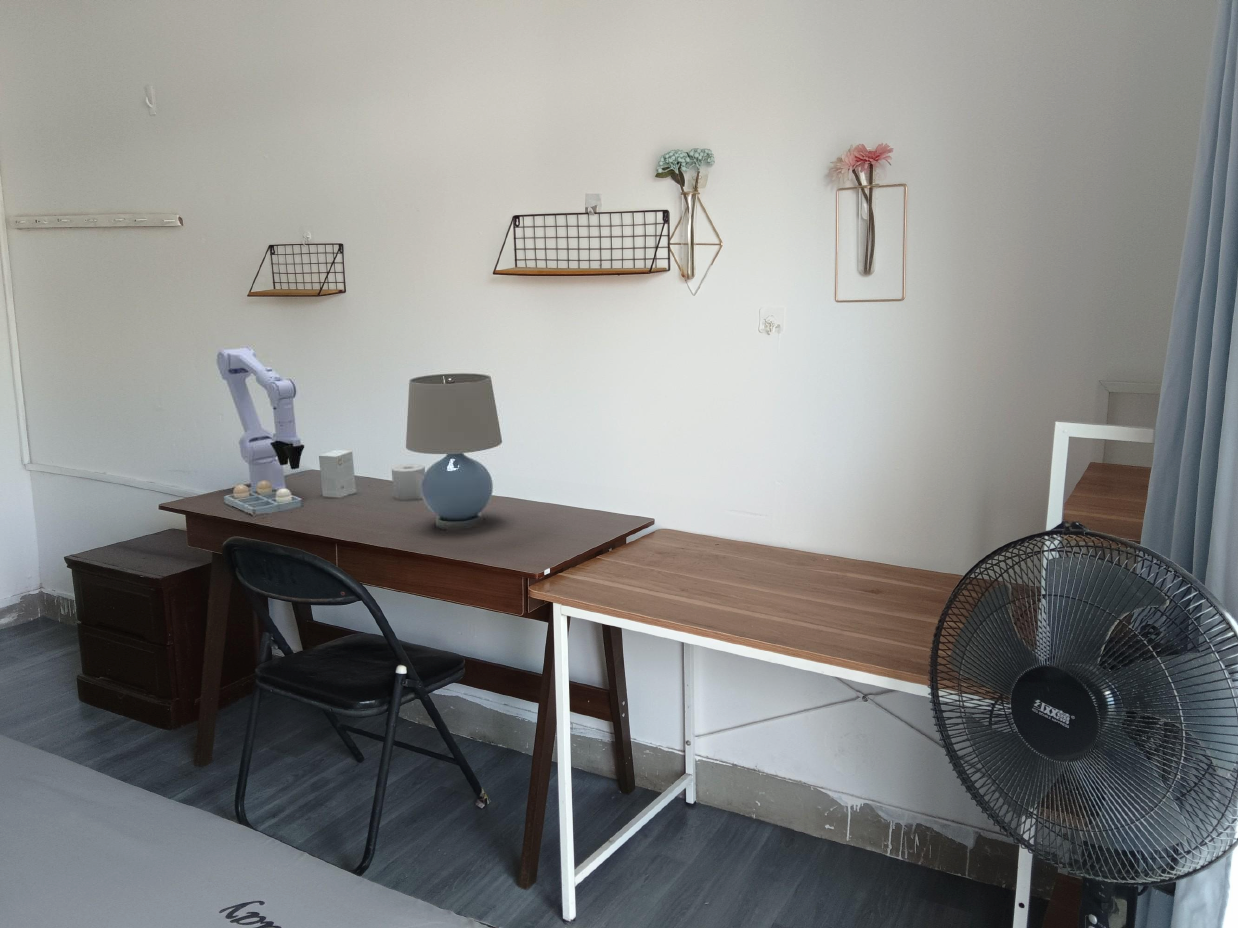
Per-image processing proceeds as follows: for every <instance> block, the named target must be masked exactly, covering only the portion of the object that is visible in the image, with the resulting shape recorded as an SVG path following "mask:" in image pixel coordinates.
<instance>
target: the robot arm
mask: <svg viewBox="0 0 1238 928" xmlns="http://www.w3.org/2000/svg"><path fill="white" fill-rule="evenodd" d="M216 365H217V369H218V370H219V374H220V376H221V378H222V379H223V380H224V381H226V383H227V387H228V389H229V392H230V395H231V398H232V400H233V403H234V406H235V409H236V411H237V414H238V417H239V420H240V423H241V426H242V428H243V431H244V434H243V435H242V436H241V437H240V438H239V440H238V443H239V448H240V449H239V450H240V451H239V452H240V455H241V458H242V459H243V461H244V462H245V463H247V464H248V472H249V481H250V487H248V489H249V491H253V490H257V484H258V483H259V482H260V481H263V480H266V481H268V482H270V483H271V485H272V487H274V488H276V489H278V490H279V489H281V488H287V486H286V481H285V474H284V473H285V472H284V466H285V465H286V466H287V465H288V464H289V467H290V470H296V469H299V468H300V463H301V459H302V458H301V457H302V453H303V451H304V449H305V444H302V443H301V438H299V437H298V434H297V426H296V420H295V419H296V418H295V408H294V407H295V406H294V399H295V397H296V396H297V387H296V384H295V382H294V381H293V379H291V378H283V377H282V376H280V375H279V374H278V373H277V371H275V370H273V368H272V367H271V366H269V367H268V366H267V367H265V366H264V365H263V364H262V363H261V362H260V361H259V360H258V359H257V355H256V352H255V350H253V349H252V347H249V346H246V347H241V348H230V349H219V350H218V352H217V355H216ZM251 375H253V376H255V380H256V383H257V384H258V385H259V386H261V387H262V388H263V389H264V390H265V391H266V394H267V397H268V399H269V401H270V406H271V407H272V410H273V421H274V430H275V433H274V432H273V433H272V432H271V431H269V430H268V429H265V428H263V427H262V424H261V421H260V418H259V416H258V413H257V409H256V407H255V405H254V402H253V399H252V397H251V393H250V391H249V388H248V385H247V382H246V379H248V378H249V377H251Z"/></svg>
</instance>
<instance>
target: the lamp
mask: <svg viewBox="0 0 1238 928" xmlns="http://www.w3.org/2000/svg"><path fill="white" fill-rule="evenodd" d="M493 388H494V387H493V382H492V376H491V375H489V374H485V373H484V374H483V373H472V372H470V373H466V372H465V373H464V372H461V373H460V372H459V373H458V372H457V373H440V374H439V373H437V374H428V375H422V376H417V377H413V378H410V379H409V382H408V400H407V415H406V416H407V418H406V436H405V437H406V439H405V448H406V450H407V451H410V452H413V453H418V454H419V453H420V454H425V455H427V454H429V455H445V456H444V457H443V458H441V459H439V460H438V461H435V462H434V463H433V464H432V465H430V466H429V467H428V468H427V470H425V474H424V476H423V479H422V483H421V493H422V497H423V502H424V503H425V505H426V507H427V508H428V509H429V510H430V511H431V512H432V513H433V514H434V515H435V525H436V527H437V528H438V529H440V528H441V529H440V530H444V529H446V531H465V530H469V529H470V530H471V529H474V528H477V527H479V526H481V525H482V524H483V515H482V511H483V510H485V508H486V507H487V506H488V504H489V503H490V501H491V498H492V495H493V491H494V490H493V489H494V487H493V486H494V482H493V479H492V475H491V473H490V472H489V471H488V468H487V467H486V466H485V465H484V464H483V463H481V462H480V461H477V460H476V459H474V458H472V457H469V456H467V455H466V454H467V453H476V452H481V451H486V450H487V451H488V450H490V449H494V448H496V447H498V446H500V445H502V443H503V440H502V439H503V438H502V434H501V428H500V422H499V417H498V416H499V415H498V410H497V405H496V398H495V394H494V389H493Z"/></svg>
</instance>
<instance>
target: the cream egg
mask: <svg viewBox="0 0 1238 928" xmlns="http://www.w3.org/2000/svg"><path fill="white" fill-rule="evenodd" d="M291 495H292V492H291V490H289V489H288V488H287V487H285V488H280V489H278V491H277V492H276V503H278V504H279V503H284V502H289V501H292V496H291Z"/></svg>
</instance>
